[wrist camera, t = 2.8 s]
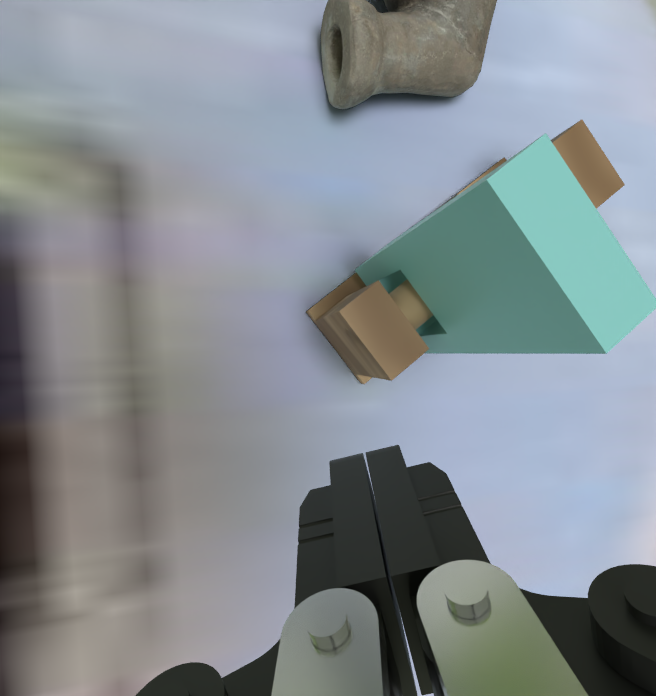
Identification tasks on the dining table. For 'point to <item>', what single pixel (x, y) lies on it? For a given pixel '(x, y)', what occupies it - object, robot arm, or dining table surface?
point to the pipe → (402, 47)
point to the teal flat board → (518, 265)
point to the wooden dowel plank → (404, 302)
